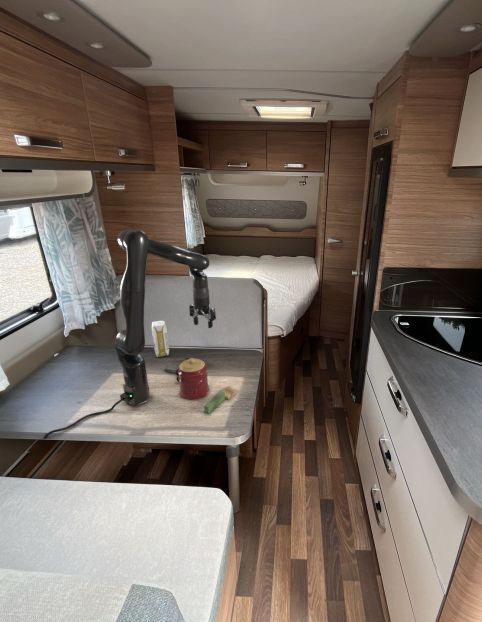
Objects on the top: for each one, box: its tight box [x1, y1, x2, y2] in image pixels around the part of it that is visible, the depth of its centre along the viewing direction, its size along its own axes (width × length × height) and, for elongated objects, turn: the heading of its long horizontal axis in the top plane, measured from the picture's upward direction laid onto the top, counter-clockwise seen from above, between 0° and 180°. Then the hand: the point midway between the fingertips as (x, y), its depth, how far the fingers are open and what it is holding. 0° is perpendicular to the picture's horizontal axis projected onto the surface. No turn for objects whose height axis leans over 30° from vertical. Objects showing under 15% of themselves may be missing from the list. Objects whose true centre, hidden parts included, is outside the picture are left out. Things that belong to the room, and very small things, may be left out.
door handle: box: [164, 357, 205, 382], centre depth 174 cm, size 3×20×16 cm
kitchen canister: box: [177, 357, 210, 400], centre depth 154 cm, size 13×13×18 cm
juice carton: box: [151, 320, 170, 358], centre depth 188 cm, size 8×9×19 cm
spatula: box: [203, 386, 238, 415], centre depth 150 cm, size 19×6×3 cm, turn 154°
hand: (203, 326), depth 168 cm, fingers open, 8 cm apart
